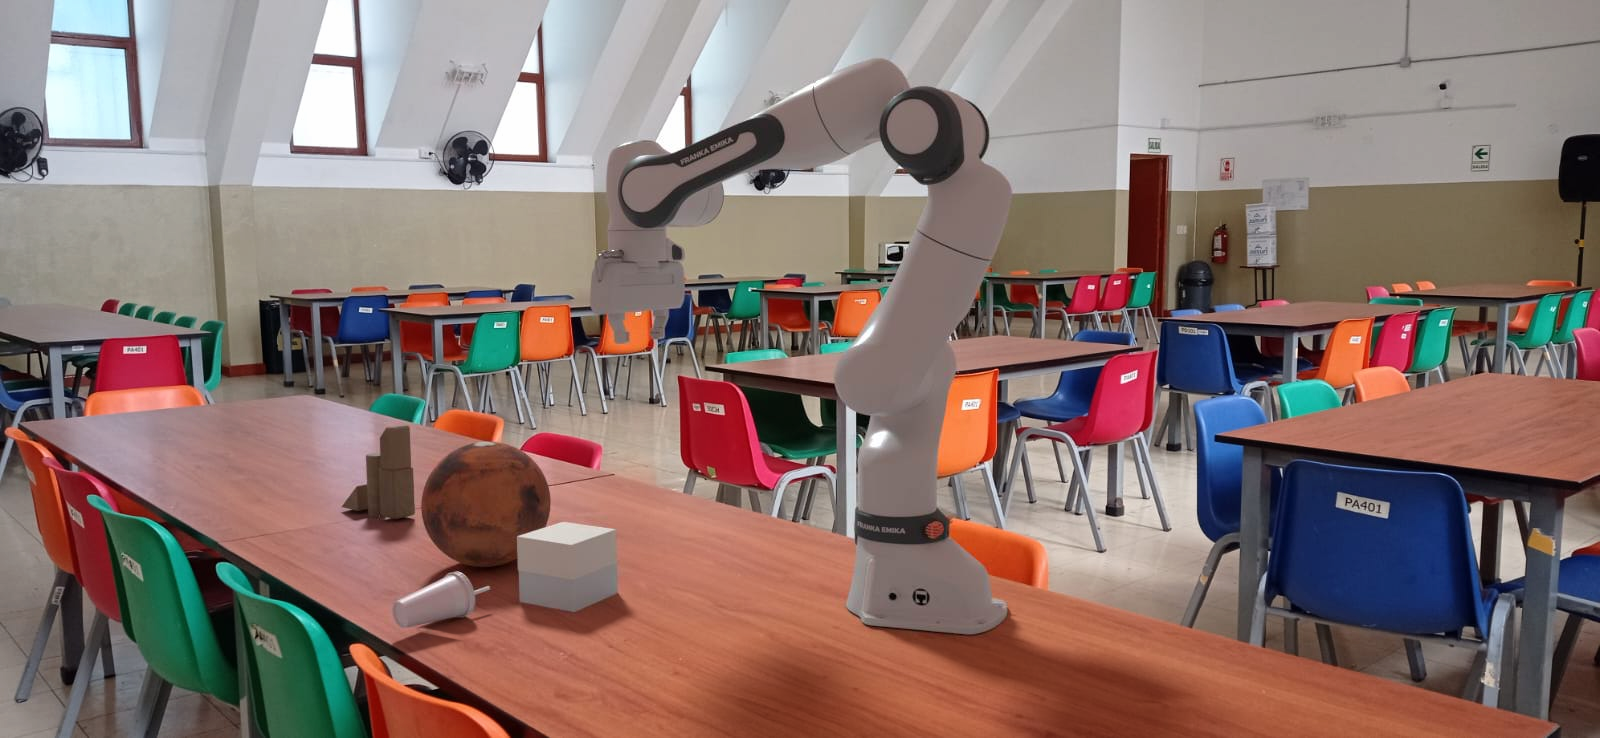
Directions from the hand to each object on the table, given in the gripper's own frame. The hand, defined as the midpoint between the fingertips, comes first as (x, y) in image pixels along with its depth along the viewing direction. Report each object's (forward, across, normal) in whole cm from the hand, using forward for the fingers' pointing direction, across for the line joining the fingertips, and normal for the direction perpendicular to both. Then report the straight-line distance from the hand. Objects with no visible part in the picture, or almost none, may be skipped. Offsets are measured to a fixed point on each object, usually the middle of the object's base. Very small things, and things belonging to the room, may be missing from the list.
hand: (640, 341), depth 174 cm
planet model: (+36, -7, +26) cm, 45 cm away
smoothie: (+34, -38, +14) cm, 52 cm away
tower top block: (+32, -15, +3) cm, 35 cm away
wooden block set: (+36, +10, +69) cm, 78 cm away
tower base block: (+37, -15, +4) cm, 40 cm away
